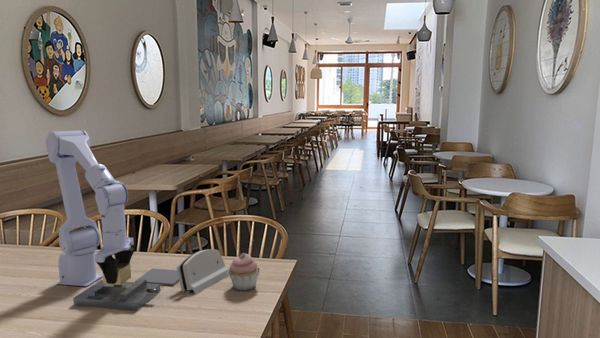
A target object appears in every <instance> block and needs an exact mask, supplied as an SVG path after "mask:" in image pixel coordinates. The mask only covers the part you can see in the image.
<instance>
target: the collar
mask: <svg viewBox="0 0 600 338" xmlns="http://www.w3.org/2000/svg"><path fill="white" fill-rule="evenodd" d="M131 270H132V269H131V262H130V263H118V265H117V271H116V283H115V285H121V284H123V283H124V282H128V280H130V279H131V278H132V271H131ZM102 274H103V273H102ZM102 280H103V284H108V283H107V281H106V279H105V276H104V274H103V276H102Z"/></svg>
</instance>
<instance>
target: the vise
mask: <svg viewBox="0 0 600 338" xmlns="http://www.w3.org/2000/svg"><path fill="white" fill-rule="evenodd" d="M161 290H162V289H161V285H160V284H151V283H147V280H145V279H139V280H138V281H137V282H135V281H126V282H124V283H123V284H121V285H115V284H103V279H100V280H99V281H97V282H96V283H93V284H92V285H91V286H90V287H88V288H87V289H85V290H83V291H82V292H80V293H79V294H78V295H76V296H74V297H73V306H80V307H90V308H91V307H92V308H102V309H103V308H105V309H115V310H124V311H126V310H127V311H135V312H136V311H140V309H142V308H143V307H144V306H145V305H146V304H147V303H148V302H150V301H151V300H152V299H153V298H154V297H155V296H157V295H158V294H159V293H160V292H161Z"/></svg>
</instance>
